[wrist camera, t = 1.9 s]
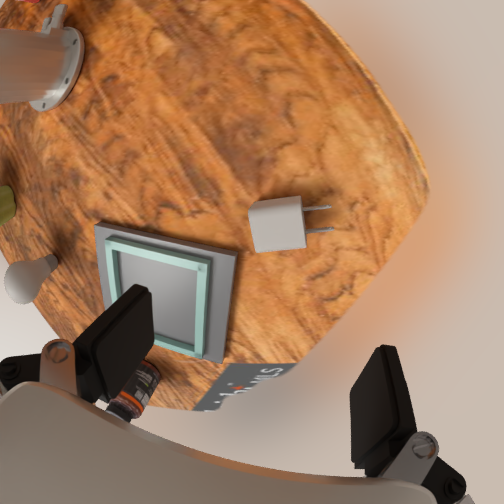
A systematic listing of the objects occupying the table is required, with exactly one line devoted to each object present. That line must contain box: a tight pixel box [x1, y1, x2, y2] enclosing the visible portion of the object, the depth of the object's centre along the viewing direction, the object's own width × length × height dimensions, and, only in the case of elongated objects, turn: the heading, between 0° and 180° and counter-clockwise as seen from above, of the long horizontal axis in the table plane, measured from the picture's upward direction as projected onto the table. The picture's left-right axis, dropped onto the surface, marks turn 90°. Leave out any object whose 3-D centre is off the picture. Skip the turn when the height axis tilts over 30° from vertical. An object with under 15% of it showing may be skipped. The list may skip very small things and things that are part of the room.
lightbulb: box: [4, 254, 58, 304], centre depth 30 cm, size 6×6×11 cm
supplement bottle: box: [105, 360, 160, 423], centre depth 35 cm, size 6×6×11 cm
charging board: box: [94, 222, 238, 364], centre depth 32 cm, size 16×18×2 cm
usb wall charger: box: [248, 196, 334, 253], centre depth 24 cm, size 4×7×4 cm, turn 101°
